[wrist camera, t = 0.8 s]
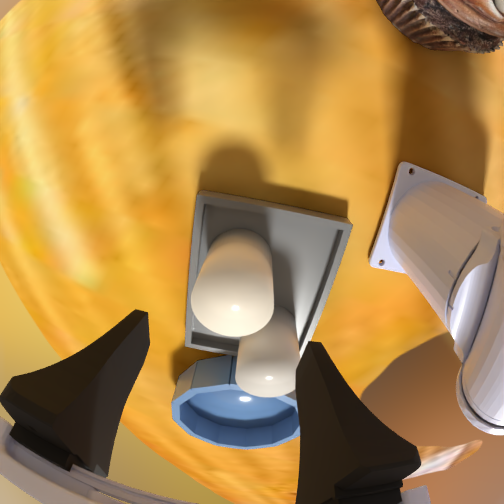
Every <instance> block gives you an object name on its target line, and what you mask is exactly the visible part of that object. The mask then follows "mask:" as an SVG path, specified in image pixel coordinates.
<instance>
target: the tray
mask: <svg viewBox="0 0 504 504" xmlns="http://www.w3.org/2000/svg"><path fill="white" fill-rule="evenodd" d="M352 226H353V224H352V223H351V222H350V221H349V219H348V218H344V217H340V216H335V215H331V214H327V213H322V212H317V211H313V210H308V209H303V208H299V207H294V206H289V205H284V204H279V203H274V202H269V201H263V200H258V199H253V198H247V197H241V196H236V195H230V194H224V193H218V192H212V191H206V190H201V191H200V192H199V193H198V194H197V199H196V208H195V217H194V226H193V236H192V246H191V257H190V269H189V282H188V296H187V313H186V333H185V346H186V347H190V348H195V349H200V350H205V351H210V352H216V353H221V354H227V355H233V356H238V348H239V339H240V336H239V337H232V336H225V335H221V334H218V333H215V332H213V331H211V330H209V329H208V328H206V327H205V326H204V325H203V324H202V323H200V321H199V320H198V319H197V318H196V316H195V314H194V312H193V310H192V307H191V294H192V291H193V288H194V285H195V283H196V280H197V278H198V275H199V273H200V270H201V268H202V265H203V263H204V261H205V258H206V256H207V253H208V251H209V248H210V246H211V244H212V242H213V241H214V239H215V238H216V237H217V236H219V235H220V234H221V233H223V232H225V231H227V230H231V229H247V230H251V231H253V232H255V233H257V234H259V235H260V236H261V237H262V238H263V239H264V240H265V241H266V242H267V244H268V245H269V247H270V250H271V254H272V269H273V293H274V305H277V306H280V307H283V308H285V309H287V310H288V311H289V312H290V313H291V314H292V315H293V316H294V318H295V321H296V328H297V336H298V344H299V352H300V359H301V357H302V355H303V352H304V350H305V348H306V345H307V343H308V341H310V340H311V338H312V336H313V333H314V331H315V329H316V326H317V324H318V321H319V319H320V316H321V314H322V311H323V309H324V306H325V303H326V301H327V298H328V296H329V293H330V290H331V288H332V285H333V282H334V279H335V277H336V274H337V271H338V268H339V265H340V263H341V260H342V257H343V254H344V251H345V248H346V245H347V242H348V239H349V236H350V233H351V229H352Z"/></svg>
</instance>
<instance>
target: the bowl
mask: <svg viewBox="0 0 504 504" xmlns="http://www.w3.org/2000/svg"><path fill="white" fill-rule="evenodd" d="M237 357H238V356H233V355H226V356H220V357H215V358H209V359H203V360H198V361H196V362H195V363H194V364H193V365H192V366H190V367H189V368H188V369H187V370H186V371H184V372H183V373H182V374H181V375H180V376H179V378H178V382H177V385H176V388H175V392H174V395H173V399H172V402H171V404H172V417H173V420H174V421H175V422H176V423H177V424H178V425H179V426H180V427H181V428H182V429H184V430H185V431H186V432H187V433H188V434H190V435H191V436H193V437H196V438H198V439H201V440H203V441H205V442H208V443H211V444H213V445H216V446H222V447H229V448H237V449H257V448H266V447H274V446H278V445H280V444H282V443H285V442H287V441H289V440H292V439H294V438H296V437H298V436H300V426H299V418H298V409H297V400H296V391H295V390H293V391H292V392H290V393H288V394H285V395H282V396H278V397H258V396H254V395H251V394H249V393H247V392H245V391H243V390H242V389H241V388H240V387H239V386H238V385H237V383H236V380H235V375H236V366H237Z"/></svg>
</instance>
